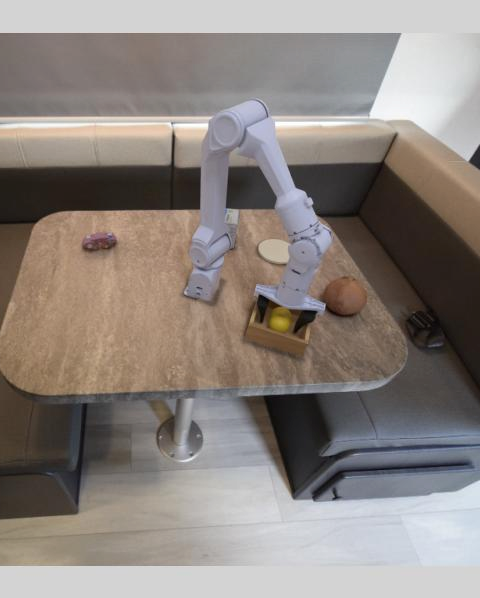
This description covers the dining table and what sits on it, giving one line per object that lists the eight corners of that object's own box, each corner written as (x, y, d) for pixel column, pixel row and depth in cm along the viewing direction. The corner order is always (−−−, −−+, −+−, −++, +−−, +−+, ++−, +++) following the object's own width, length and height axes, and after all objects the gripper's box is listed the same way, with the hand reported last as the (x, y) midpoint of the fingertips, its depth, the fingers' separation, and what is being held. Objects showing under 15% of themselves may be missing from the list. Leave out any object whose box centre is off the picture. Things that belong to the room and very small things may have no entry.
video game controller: (84, 255, 102) (82, 244, 95) (81, 241, 103) (79, 230, 97) (117, 250, 104) (118, 239, 97) (114, 237, 105) (115, 225, 99)
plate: (293, 268, 98) (294, 266, 97) (254, 258, 101) (254, 256, 100) (298, 246, 105) (299, 244, 104) (262, 237, 108) (262, 235, 107)
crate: (300, 358, 77) (308, 343, 73) (243, 339, 80) (248, 324, 76) (307, 318, 85) (314, 303, 81) (255, 303, 88) (260, 288, 84)
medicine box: (233, 249, 103) (238, 224, 97) (218, 247, 103) (222, 222, 97) (234, 234, 108) (240, 209, 102) (220, 232, 109) (224, 207, 103)
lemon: (284, 340, 79) (290, 327, 76) (264, 334, 80) (269, 321, 77) (289, 319, 83) (295, 306, 80) (270, 313, 85) (275, 300, 81)
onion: (327, 305, 92) (337, 268, 89) (366, 317, 86) (378, 278, 83) (312, 312, 86) (323, 273, 82) (353, 326, 80) (366, 283, 76)
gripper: (334, 279, 72) (312, 322, 82) (264, 260, 76) (251, 303, 86) (332, 301, 67) (309, 344, 77) (257, 280, 71) (244, 323, 81)
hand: (278, 324), depth 81 cm, fingers open, 7 cm apart
